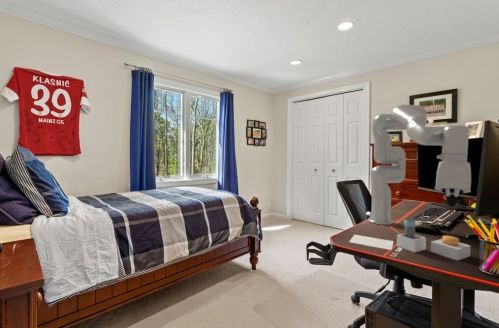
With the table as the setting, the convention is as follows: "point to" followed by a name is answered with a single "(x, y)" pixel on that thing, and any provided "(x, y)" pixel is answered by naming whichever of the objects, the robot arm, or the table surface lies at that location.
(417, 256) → the table surface
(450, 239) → the button
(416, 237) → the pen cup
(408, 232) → the marker
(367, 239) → the paper
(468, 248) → the button box
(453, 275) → the table surface
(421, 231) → the table surface
